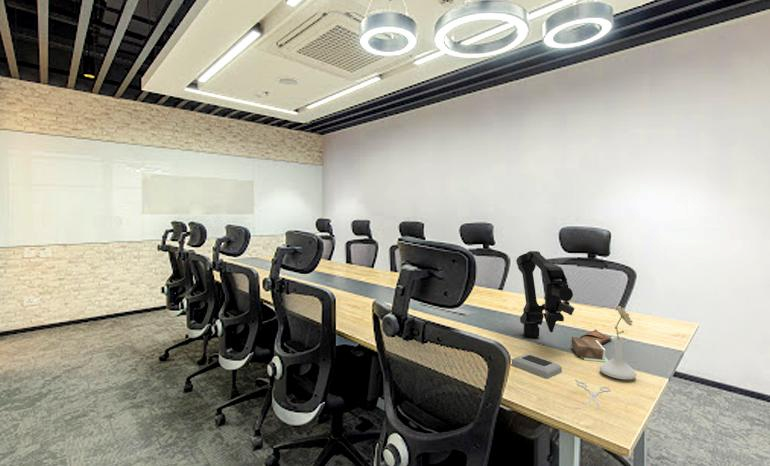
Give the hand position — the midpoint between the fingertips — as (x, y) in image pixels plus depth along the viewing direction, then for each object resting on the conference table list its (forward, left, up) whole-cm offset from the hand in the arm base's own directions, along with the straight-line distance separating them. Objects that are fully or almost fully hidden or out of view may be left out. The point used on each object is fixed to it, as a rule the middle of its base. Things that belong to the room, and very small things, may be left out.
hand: (551, 331), depth 159 cm
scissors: (+7, -40, -9) cm, 42 cm away
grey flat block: (-8, -23, -9) cm, 26 cm away
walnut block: (+9, 0, -5) cm, 11 cm away
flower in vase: (+20, -20, -8) cm, 29 cm away
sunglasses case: (+22, +17, -8) cm, 29 cm away
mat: (+16, 0, -8) cm, 17 cm away
